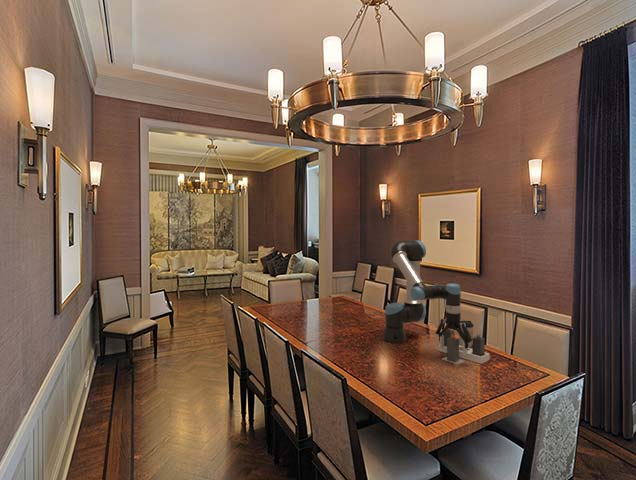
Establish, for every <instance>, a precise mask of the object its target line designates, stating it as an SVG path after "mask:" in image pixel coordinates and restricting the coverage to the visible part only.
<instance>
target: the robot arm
mask: <svg viewBox="0 0 636 480" xmlns="http://www.w3.org/2000/svg"><path fill="white" fill-rule="evenodd" d="M389 251H390V252H389V253H390V258H391V259H392V262H393V263H394V264H396V265H397V267H398V268H399V270H400V271H401V273H402V275H403V276H404V278H405V281H406V285H405V286H406V287H405V288H406V292H405V293H406V299H405V300H404V301H403V303H402V302H390V303H388V304H387V305H386V306H385V310H384V313H385V316H384V317H385V318H384V319H385V322H384V324H385V328H384V331H383V334H382V340H383V341H384V342H387V343H390V344H391V343H392V344H401V343H405V342H406V341H407V334H406V332H405V329H404V327H405V326H404V324H407V323H418V322H422V321H423V320H425V318H426V316H427V309H426V305H425V304H423V300H424V301H425V300H438V299H439V300H440V299H443V300H445V318H441V319H440V323H439V324H438V327H437V329H436V331H435V335H437V336H438V342H439V344H440V348H443V347H444V336H443V334H444V333H445V332H446V331H447V330H448V329H449V328H450V330H453V331H456V332H457V333H458V335H459V334H460V336H461V337H462V339H463V340H464V342H463V355H465V354H467V348H469V347H468V342H471V341H472V339H471V336H470V334H469V332H468V330H467V327H466V323H461V322H460V321H461V298H462V297H461V286H460V284H458V283H447V284H445V285H443V284H441V283H440V284H438V283H436V284H434V285H426V284H425V282H424V281H423V280H422V278H421V275H420V274H421V271H420V270H421V269H420V268H421V263H422V262H423V259H424V258H425V256H426V255H427V248H426V245H425V244H424V243H423V241H422V240H415V239H414V240H413V239H412V240H398V241H396V242H394V243H393V244H392V245H391V247H390V250H389ZM445 324H446V325H445ZM444 325H445V326H444ZM460 325H461V327H462V329H463V331H462V329H461V327H460ZM463 332H464V333H463Z"/></svg>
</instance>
